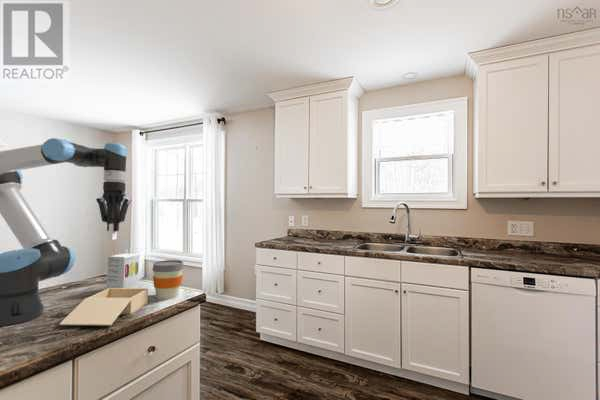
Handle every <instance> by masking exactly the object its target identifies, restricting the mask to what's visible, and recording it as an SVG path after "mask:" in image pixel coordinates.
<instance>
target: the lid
mask: <svg viewBox="0 0 600 400" xmlns="http://www.w3.org/2000/svg"><path fill="white" fill-rule="evenodd" d="M130 301H131V298H88V297H85V298H84V299H83V300H82V301H81V302H80V303H79V304H78V305H77V306H76V307H75V308H74V309H73V310H72V311H71V312H70V313H69V314H68V315H66V317H65V318H64V319H62V321H61V322H59V325H60V326H112V324H113V323H114V322H115V321H116V320H117V319H118V317H119V316H120V315H119V314H120V313H121V312H122V311H123V309H124V308H125V307H126V306H127V304H128V303H129V302H130Z"/></svg>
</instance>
